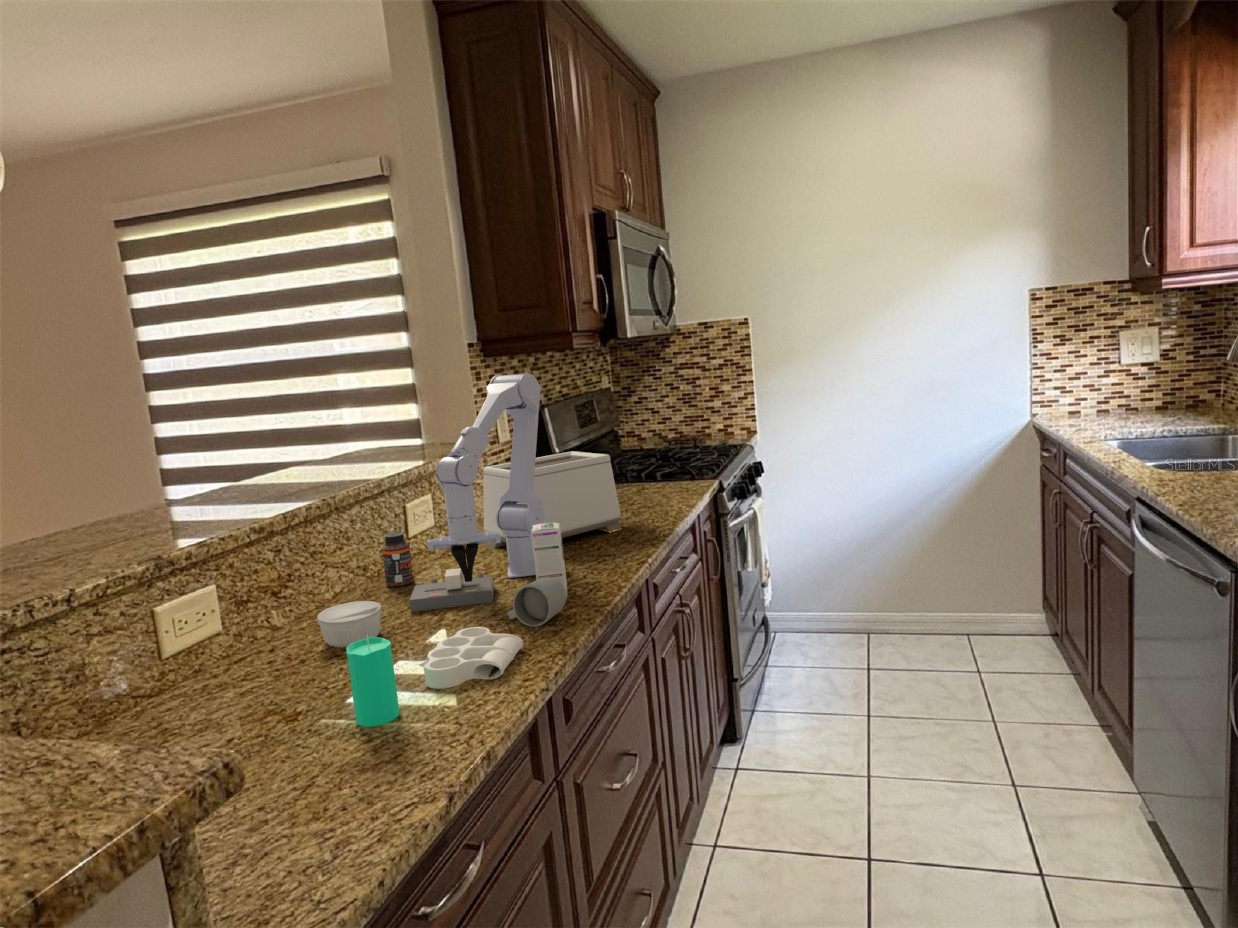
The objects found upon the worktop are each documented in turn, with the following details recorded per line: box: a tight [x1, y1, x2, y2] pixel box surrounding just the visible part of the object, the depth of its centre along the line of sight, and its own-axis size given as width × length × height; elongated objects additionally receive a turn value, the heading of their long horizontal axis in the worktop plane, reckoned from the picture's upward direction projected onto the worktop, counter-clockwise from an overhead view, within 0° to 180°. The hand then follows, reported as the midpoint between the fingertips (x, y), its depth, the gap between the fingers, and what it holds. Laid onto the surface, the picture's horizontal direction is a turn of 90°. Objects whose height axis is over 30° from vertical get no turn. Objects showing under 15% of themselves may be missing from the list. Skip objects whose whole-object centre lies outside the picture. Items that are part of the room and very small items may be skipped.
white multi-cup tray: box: [418, 626, 524, 690], centre depth 127 cm, size 3×18×15 cm
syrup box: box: [531, 522, 568, 600], centre depth 157 cm, size 6×6×14 cm
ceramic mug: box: [506, 577, 567, 628], centre depth 146 cm, size 11×8×8 cm
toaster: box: [482, 450, 622, 549], centre depth 207 cm, size 19×34×21 cm, turn 128°
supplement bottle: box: [381, 532, 414, 588], centre depth 176 cm, size 6×6×11 cm
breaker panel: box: [409, 573, 495, 613], centre depth 166 cm, size 16×19×3 cm
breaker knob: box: [444, 567, 464, 590], centre depth 161 cm, size 3×5×3 cm, turn 8°
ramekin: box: [316, 600, 383, 648], centre depth 144 cm, size 11×11×5 cm
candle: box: [345, 635, 401, 728], centre depth 110 cm, size 6×6×12 cm
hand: (468, 580), depth 162 cm, fingers closed
